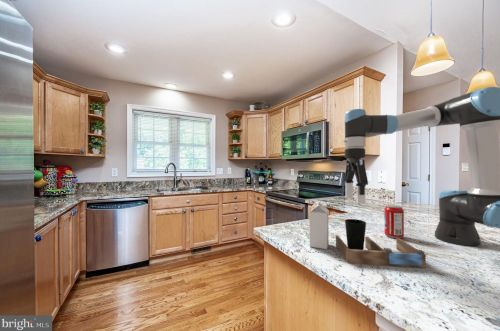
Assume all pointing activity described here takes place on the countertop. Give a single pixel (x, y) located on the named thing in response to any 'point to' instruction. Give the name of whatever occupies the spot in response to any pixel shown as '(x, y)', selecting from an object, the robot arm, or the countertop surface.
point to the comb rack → (383, 254)
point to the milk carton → (319, 227)
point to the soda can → (394, 221)
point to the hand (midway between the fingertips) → (354, 200)
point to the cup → (355, 233)
